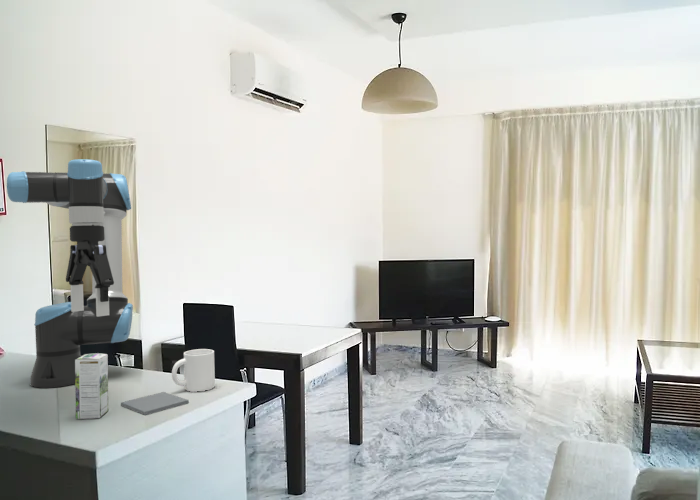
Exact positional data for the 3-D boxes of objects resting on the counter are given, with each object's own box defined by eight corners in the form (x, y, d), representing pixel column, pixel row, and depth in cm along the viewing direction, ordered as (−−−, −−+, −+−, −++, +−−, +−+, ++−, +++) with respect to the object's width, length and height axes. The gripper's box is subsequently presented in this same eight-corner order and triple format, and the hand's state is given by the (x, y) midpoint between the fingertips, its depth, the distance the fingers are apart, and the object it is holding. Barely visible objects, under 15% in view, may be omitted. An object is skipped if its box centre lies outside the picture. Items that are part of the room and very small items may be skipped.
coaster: (120, 405, 142) (120, 402, 142) (163, 394, 151) (163, 391, 151) (145, 415, 134) (144, 411, 134) (188, 403, 143) (188, 399, 143)
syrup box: (84, 412, 137) (83, 353, 137) (109, 411, 138) (107, 352, 138) (75, 419, 132) (73, 358, 131) (101, 418, 132) (99, 357, 132)
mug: (177, 396, 149) (176, 358, 149) (167, 390, 156) (166, 353, 155) (219, 388, 156) (218, 352, 156) (208, 382, 163) (207, 347, 163)
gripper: (127, 223, 128) (130, 315, 129) (80, 226, 144) (82, 307, 145) (95, 223, 122) (98, 320, 123) (49, 226, 139) (52, 311, 139)
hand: (89, 313), depth 134 cm, fingers open, 13 cm apart
